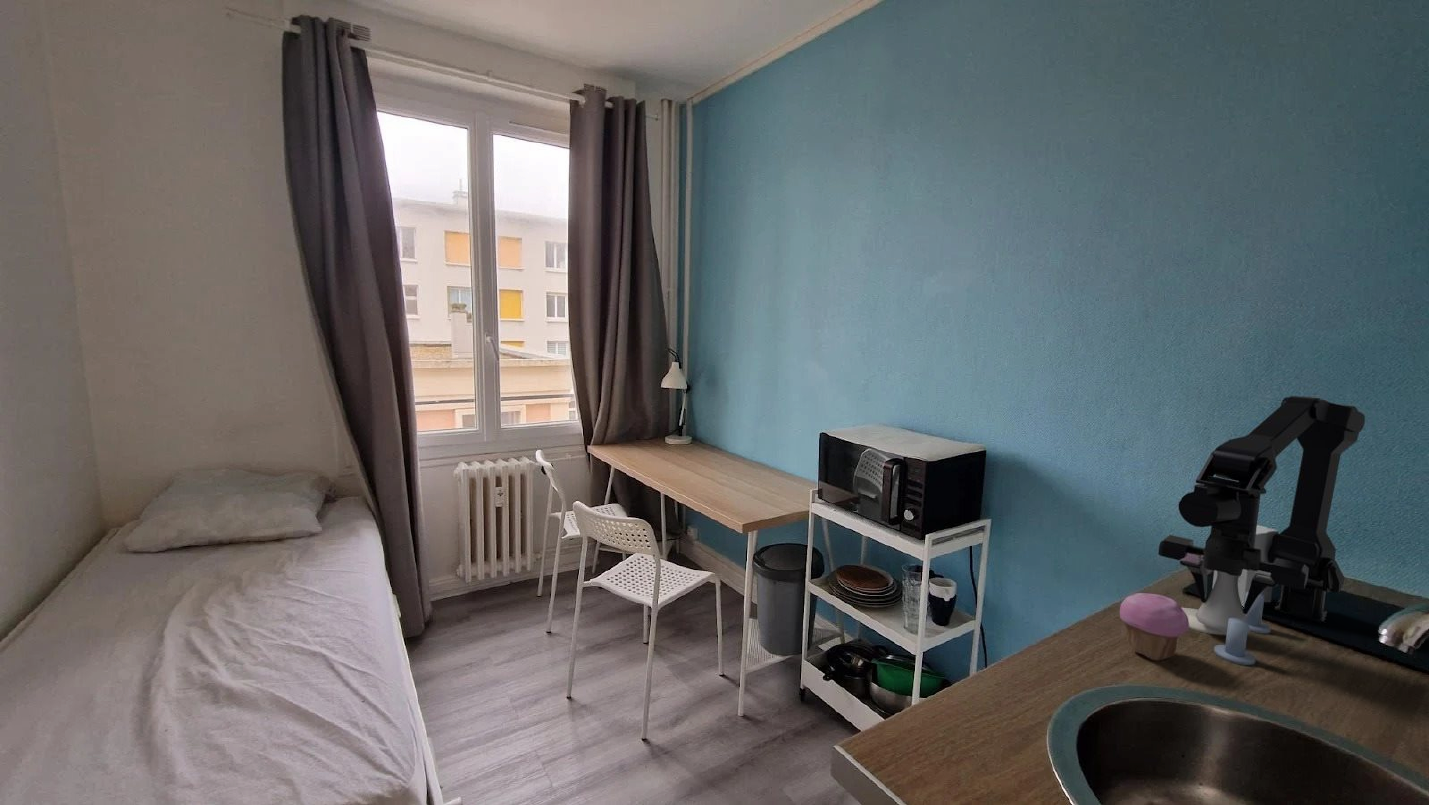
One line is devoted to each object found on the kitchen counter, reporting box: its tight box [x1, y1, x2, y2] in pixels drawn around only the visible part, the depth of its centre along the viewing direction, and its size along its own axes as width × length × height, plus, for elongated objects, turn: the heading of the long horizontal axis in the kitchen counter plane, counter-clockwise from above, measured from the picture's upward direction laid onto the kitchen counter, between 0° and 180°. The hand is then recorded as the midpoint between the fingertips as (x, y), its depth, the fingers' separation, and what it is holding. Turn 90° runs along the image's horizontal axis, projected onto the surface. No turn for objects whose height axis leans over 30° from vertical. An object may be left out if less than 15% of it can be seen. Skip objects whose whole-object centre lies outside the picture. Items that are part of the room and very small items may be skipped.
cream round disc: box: [1181, 607, 1227, 636], centre depth 106 cm, size 9×9×1 cm
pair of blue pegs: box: [1213, 592, 1272, 666], centre depth 99 cm, size 20×5×6 cm, turn 130°
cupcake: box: [1119, 592, 1190, 662], centre depth 94 cm, size 9×9×10 cm
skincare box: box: [1211, 524, 1280, 607], centre depth 114 cm, size 8×6×15 cm
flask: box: [1195, 571, 1252, 634], centre depth 101 cm, size 7×7×10 cm
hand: (1224, 607), depth 101 cm, fingers closed on flask, 5 cm apart
